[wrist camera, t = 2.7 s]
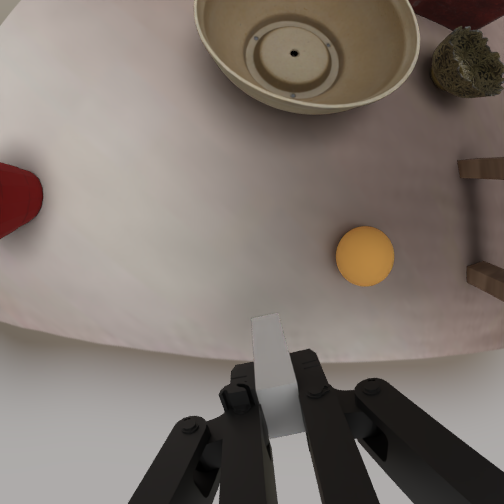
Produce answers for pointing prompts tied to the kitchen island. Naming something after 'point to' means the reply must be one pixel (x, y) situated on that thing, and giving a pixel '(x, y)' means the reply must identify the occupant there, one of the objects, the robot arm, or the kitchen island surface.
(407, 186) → the kitchen island surface
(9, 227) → the plastic cup
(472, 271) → the bridge
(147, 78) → the kitchen island surface
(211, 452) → the robot arm
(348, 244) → the ball
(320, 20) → the planter bowl
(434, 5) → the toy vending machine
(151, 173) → the kitchen island surface
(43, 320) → the kitchen island surface
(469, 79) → the green lump
